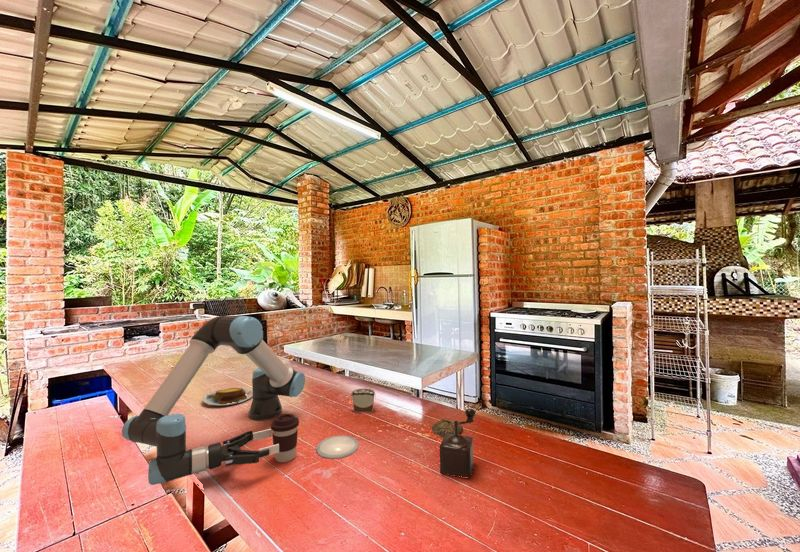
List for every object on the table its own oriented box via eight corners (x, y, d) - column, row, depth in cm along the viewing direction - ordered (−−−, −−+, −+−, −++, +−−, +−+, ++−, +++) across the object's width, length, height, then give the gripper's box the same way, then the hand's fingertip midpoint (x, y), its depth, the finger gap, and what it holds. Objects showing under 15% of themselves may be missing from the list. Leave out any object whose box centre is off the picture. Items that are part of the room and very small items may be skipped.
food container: (377, 407, 166) (377, 388, 166) (375, 412, 160) (375, 392, 160) (354, 407, 167) (353, 387, 167) (351, 411, 161) (350, 391, 161)
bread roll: (466, 431, 140) (466, 419, 140) (450, 441, 131) (450, 429, 132) (442, 422, 149) (442, 411, 149) (425, 431, 140) (425, 420, 140)
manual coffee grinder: (472, 480, 106) (471, 425, 106) (439, 474, 110) (438, 420, 110) (477, 455, 121) (476, 407, 121) (447, 450, 124) (447, 403, 124)
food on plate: (244, 388, 198) (244, 378, 198) (260, 399, 181) (260, 387, 181) (196, 400, 180) (196, 388, 180) (209, 413, 163) (209, 400, 163)
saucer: (311, 444, 130) (311, 442, 130) (348, 433, 139) (348, 431, 139) (324, 463, 117) (324, 461, 117) (364, 450, 125) (364, 448, 125)
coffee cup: (304, 453, 123) (304, 414, 123) (285, 467, 114) (285, 425, 114) (285, 448, 127) (284, 410, 127) (265, 461, 118) (264, 420, 118)
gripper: (206, 451, 118) (268, 436, 129) (208, 489, 97) (282, 466, 108) (206, 431, 118) (268, 417, 129) (208, 464, 97) (282, 444, 108)
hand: (275, 439), depth 118 cm, fingers open, 13 cm apart
